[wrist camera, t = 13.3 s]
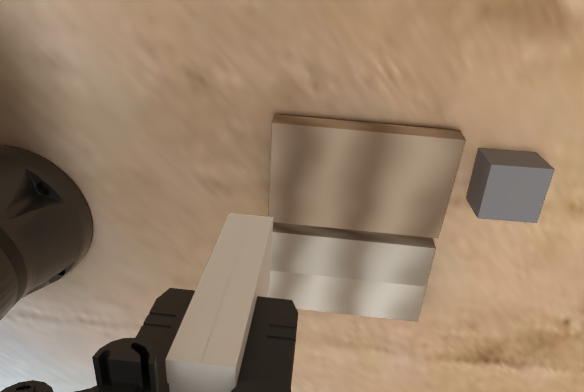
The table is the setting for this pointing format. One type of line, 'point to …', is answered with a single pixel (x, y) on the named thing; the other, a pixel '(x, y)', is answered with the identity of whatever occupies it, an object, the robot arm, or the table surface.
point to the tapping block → (509, 185)
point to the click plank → (362, 175)
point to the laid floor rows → (350, 270)
